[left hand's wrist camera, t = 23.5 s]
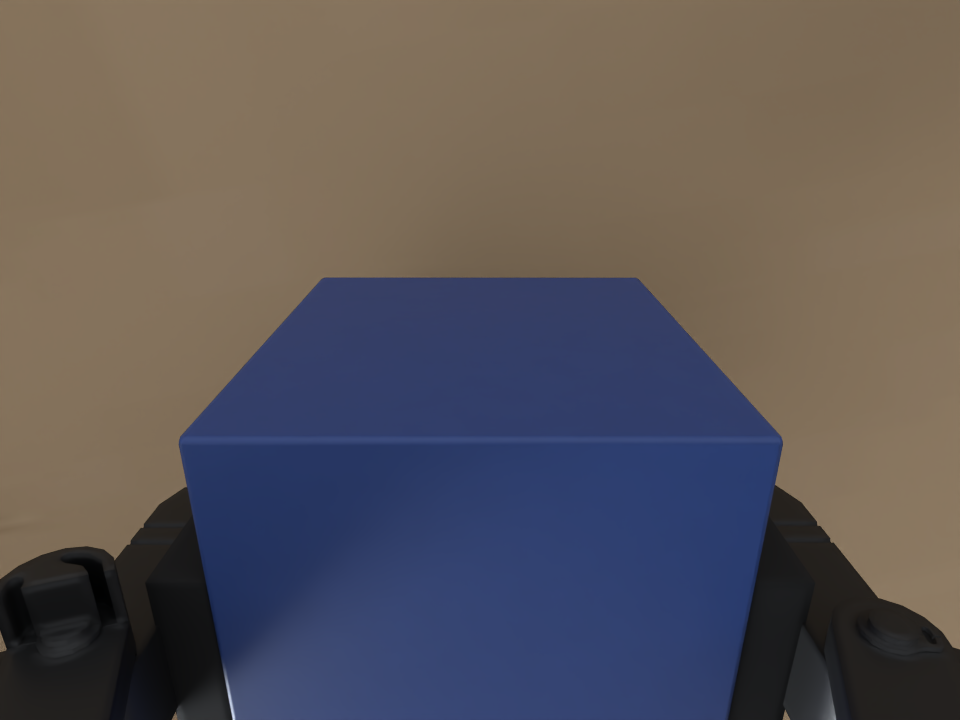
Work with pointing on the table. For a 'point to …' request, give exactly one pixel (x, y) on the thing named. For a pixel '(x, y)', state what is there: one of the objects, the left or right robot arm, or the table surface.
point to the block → (480, 507)
